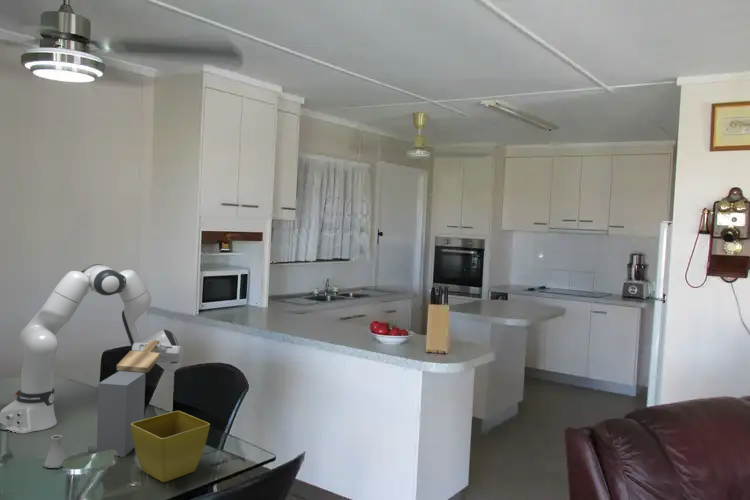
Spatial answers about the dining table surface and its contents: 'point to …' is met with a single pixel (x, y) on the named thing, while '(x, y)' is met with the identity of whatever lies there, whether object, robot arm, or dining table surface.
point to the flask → (55, 453)
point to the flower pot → (169, 444)
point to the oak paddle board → (140, 359)
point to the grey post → (119, 410)
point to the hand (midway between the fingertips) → (151, 344)
